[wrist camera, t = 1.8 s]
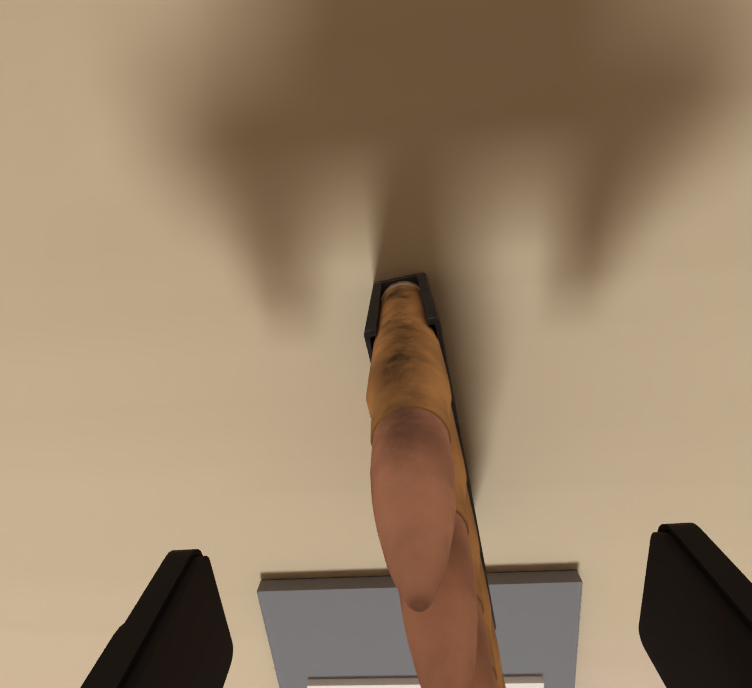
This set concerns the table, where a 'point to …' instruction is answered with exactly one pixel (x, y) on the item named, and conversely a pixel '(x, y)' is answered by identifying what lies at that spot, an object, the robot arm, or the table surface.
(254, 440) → the table surface
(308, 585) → the mat
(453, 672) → the ammunition clip
